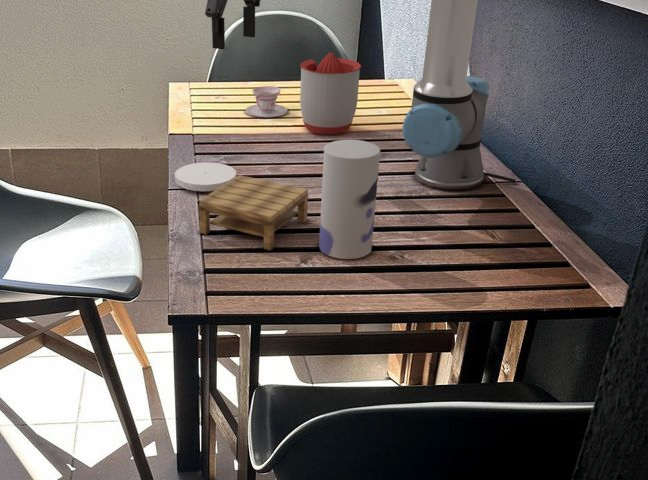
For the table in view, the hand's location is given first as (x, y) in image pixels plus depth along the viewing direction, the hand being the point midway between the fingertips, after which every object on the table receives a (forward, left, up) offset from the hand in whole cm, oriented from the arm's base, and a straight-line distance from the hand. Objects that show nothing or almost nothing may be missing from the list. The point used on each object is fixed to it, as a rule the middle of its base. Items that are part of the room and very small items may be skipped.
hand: (234, 42), depth 183 cm
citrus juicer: (-9, -33, -28) cm, 45 cm away
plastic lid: (-2, +17, -28) cm, 33 cm away
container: (-43, +32, -28) cm, 60 cm away
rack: (-23, +32, -28) cm, 48 cm away
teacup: (+12, -38, -28) cm, 49 cm away
